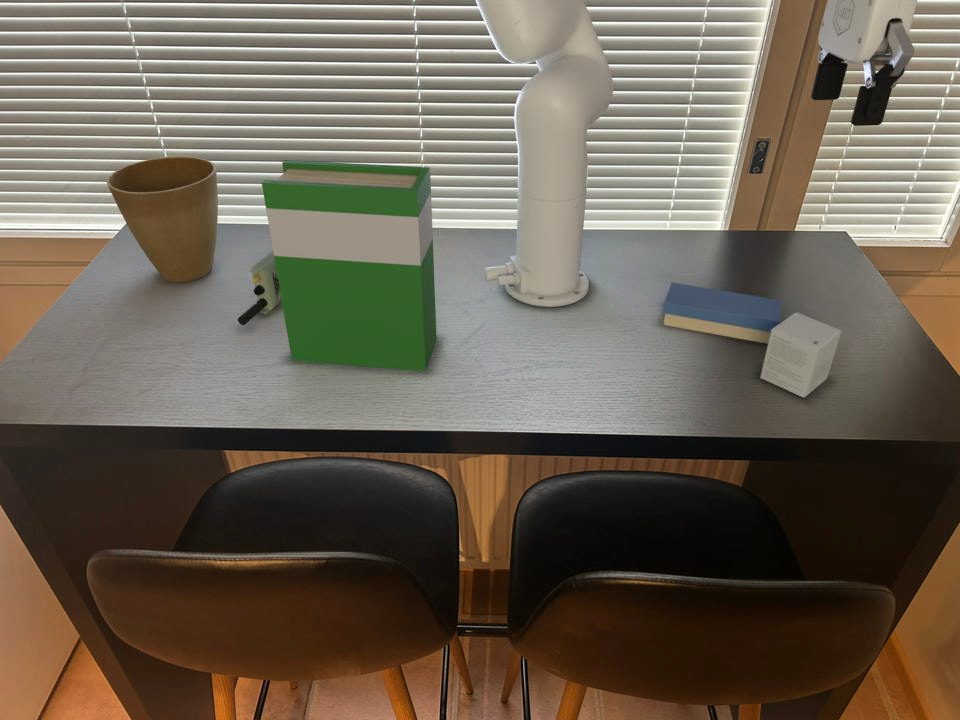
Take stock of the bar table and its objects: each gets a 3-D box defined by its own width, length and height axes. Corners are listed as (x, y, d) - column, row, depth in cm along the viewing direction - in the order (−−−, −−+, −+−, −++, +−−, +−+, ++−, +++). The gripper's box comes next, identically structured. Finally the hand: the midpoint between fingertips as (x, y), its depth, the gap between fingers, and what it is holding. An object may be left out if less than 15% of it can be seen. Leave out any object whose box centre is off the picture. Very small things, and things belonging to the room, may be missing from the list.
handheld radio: (339, 253, 123) (254, 331, 104) (321, 251, 124) (233, 328, 105) (333, 215, 119) (243, 288, 100) (315, 213, 120) (222, 285, 101)
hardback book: (291, 360, 98) (261, 183, 84) (310, 329, 104) (284, 160, 90) (425, 371, 96) (416, 191, 82) (436, 339, 102) (430, 167, 88)
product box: (828, 379, 95) (844, 330, 90) (803, 400, 91) (818, 349, 87) (783, 359, 98) (796, 310, 94) (757, 377, 95) (770, 328, 91)
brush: (660, 325, 105) (664, 302, 103) (667, 305, 110) (671, 281, 108) (774, 346, 101) (780, 321, 99) (776, 323, 105) (782, 300, 103)
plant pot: (248, 251, 124) (230, 156, 115) (214, 297, 112) (191, 194, 102) (160, 248, 125) (135, 153, 116) (117, 292, 113) (85, 190, 103)
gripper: (814, -71, 82) (780, 91, 92) (899, -53, 68) (848, 137, 77) (881, -72, 82) (840, 89, 92) (979, -55, 68) (919, 135, 78)
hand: (844, 111), depth 85 cm, fingers open, 9 cm apart
